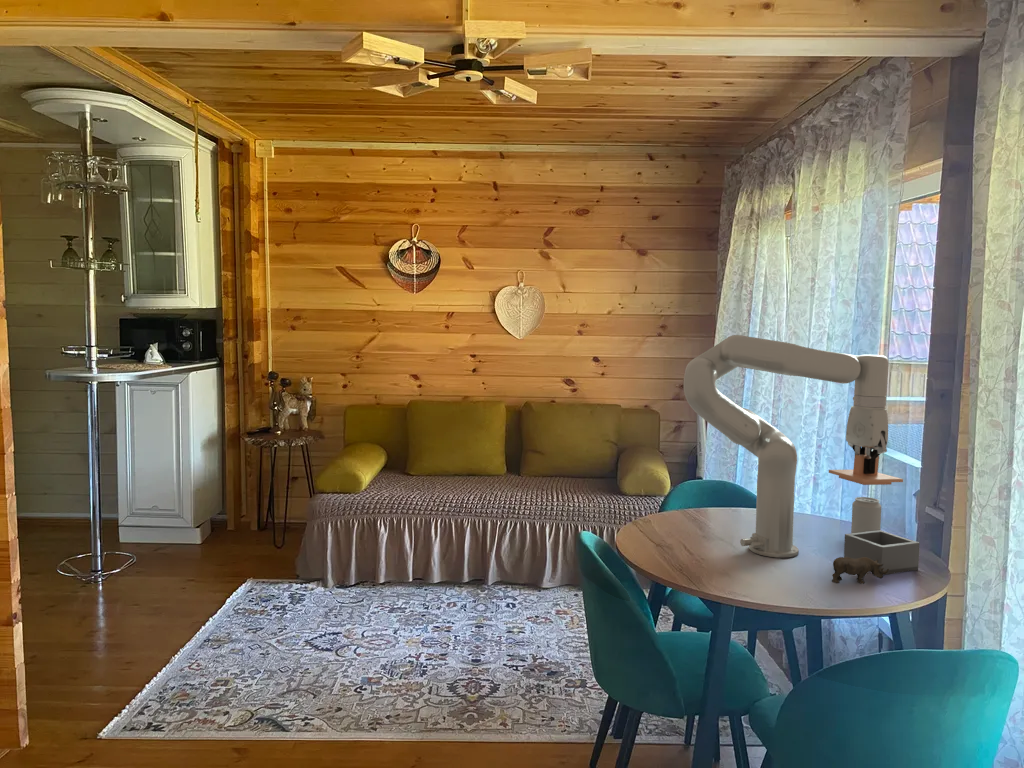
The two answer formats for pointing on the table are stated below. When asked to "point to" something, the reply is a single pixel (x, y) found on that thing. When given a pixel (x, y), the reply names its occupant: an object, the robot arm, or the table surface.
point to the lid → (865, 479)
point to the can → (865, 515)
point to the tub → (883, 550)
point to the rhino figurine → (856, 568)
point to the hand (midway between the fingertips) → (865, 472)
